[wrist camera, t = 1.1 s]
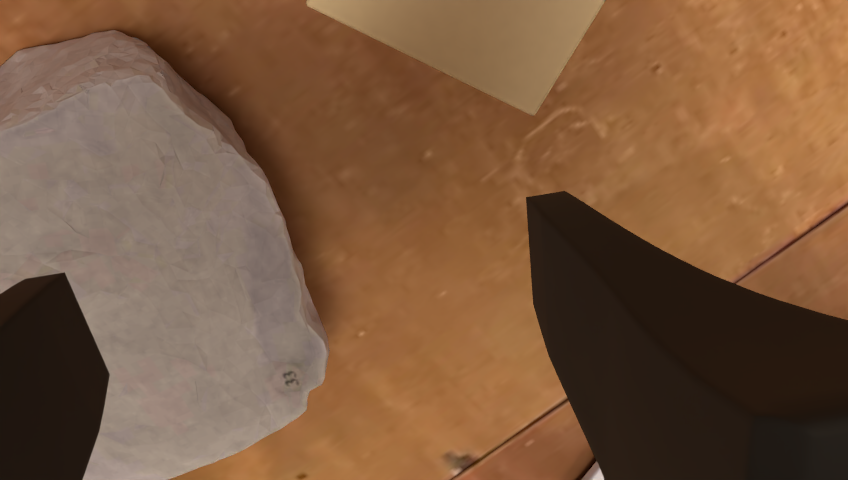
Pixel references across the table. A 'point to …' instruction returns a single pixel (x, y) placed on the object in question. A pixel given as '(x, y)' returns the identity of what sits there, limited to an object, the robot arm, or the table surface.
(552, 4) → the maple block
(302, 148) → the table surface
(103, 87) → the stone block
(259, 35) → the table surface
